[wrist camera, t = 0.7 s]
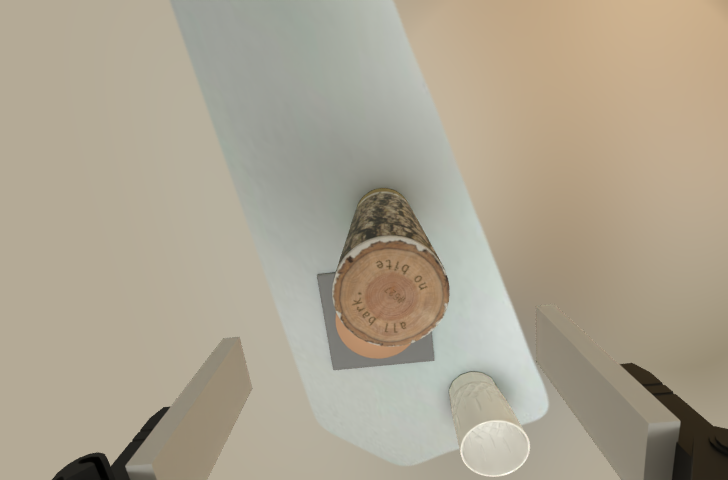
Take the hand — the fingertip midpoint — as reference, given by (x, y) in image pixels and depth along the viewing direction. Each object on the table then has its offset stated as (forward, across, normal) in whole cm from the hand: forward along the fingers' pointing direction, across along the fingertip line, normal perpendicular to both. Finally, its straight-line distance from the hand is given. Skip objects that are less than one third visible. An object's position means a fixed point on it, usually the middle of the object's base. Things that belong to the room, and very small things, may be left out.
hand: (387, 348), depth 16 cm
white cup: (+30, +10, -27) cm, 41 cm away
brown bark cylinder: (+30, 0, 0) cm, 30 cm away
